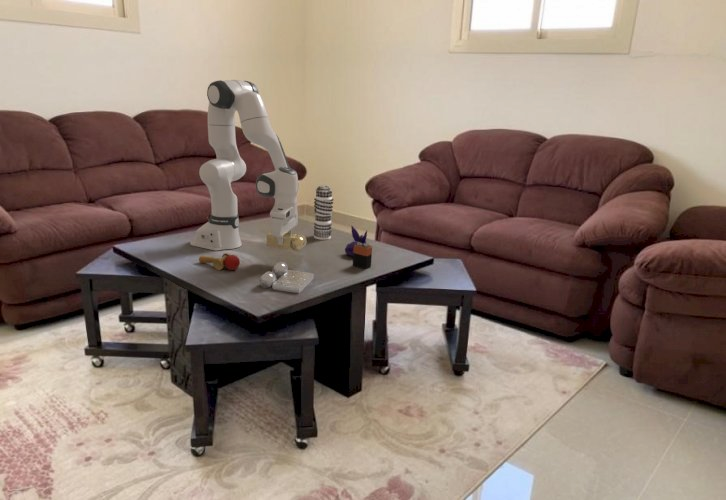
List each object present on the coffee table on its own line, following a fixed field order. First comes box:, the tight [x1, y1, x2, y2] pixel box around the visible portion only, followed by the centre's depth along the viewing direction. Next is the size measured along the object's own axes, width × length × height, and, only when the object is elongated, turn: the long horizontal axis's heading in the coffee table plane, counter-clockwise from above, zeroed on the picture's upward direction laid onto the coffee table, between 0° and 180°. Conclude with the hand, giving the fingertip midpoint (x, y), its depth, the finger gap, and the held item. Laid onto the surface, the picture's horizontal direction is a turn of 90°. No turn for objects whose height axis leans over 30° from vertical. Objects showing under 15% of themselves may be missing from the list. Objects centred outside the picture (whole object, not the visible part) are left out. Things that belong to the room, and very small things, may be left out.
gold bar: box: [266, 231, 308, 252], centre depth 212 cm, size 6×15×5 cm, turn 76°
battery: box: [352, 242, 373, 270], centre depth 217 cm, size 4×7×10 cm, turn 57°
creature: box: [344, 225, 368, 257], centre depth 232 cm, size 9×18×12 cm, turn 155°
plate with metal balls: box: [258, 261, 315, 294], centre depth 195 cm, size 16×16×5 cm
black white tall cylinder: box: [313, 185, 334, 241], centre depth 251 cm, size 9×9×25 cm
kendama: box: [198, 252, 241, 271], centre depth 207 cm, size 8×6×18 cm
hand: (284, 241), depth 213 cm, fingers closed on gold bar, 6 cm apart
